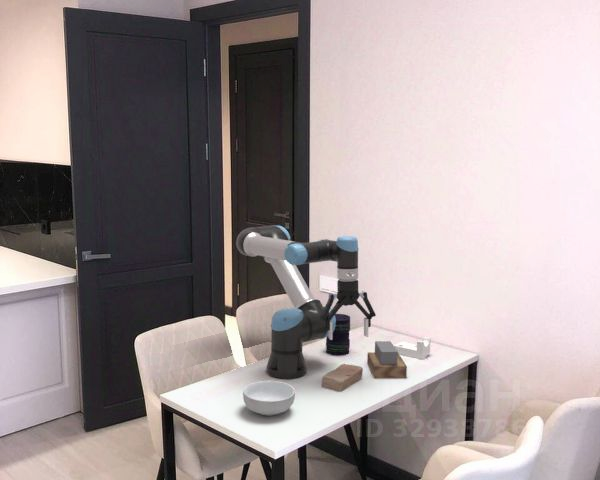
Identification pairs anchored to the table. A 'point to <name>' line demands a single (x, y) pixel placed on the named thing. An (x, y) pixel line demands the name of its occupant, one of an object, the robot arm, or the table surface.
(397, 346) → the bracket
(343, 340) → the dark blue barrel
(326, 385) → the brick
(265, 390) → the cereal bowl
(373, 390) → the table surface
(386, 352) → the tower top
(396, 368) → the tower base
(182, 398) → the table surface
